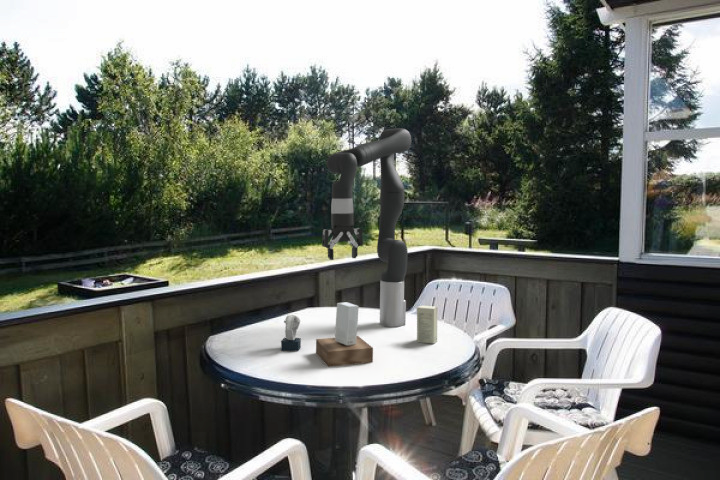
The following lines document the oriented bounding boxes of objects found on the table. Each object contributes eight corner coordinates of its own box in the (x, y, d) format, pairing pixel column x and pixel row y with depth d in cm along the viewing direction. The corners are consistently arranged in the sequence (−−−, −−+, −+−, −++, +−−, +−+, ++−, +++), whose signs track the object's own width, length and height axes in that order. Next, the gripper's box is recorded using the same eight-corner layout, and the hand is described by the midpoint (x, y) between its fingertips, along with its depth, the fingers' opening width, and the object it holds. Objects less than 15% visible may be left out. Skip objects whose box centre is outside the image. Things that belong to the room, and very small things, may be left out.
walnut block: (357, 350, 174) (357, 335, 174) (372, 364, 161) (373, 347, 161) (316, 354, 170) (316, 339, 169) (328, 368, 156) (328, 351, 156)
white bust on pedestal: (301, 345, 177) (301, 313, 176) (297, 352, 169) (297, 318, 168) (285, 345, 178) (285, 312, 177) (279, 352, 170) (279, 318, 169)
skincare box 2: (437, 341, 185) (438, 306, 184) (433, 344, 181) (434, 308, 180) (419, 338, 188) (420, 304, 187) (415, 341, 184) (416, 306, 183)
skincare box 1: (356, 344, 164) (360, 305, 163) (345, 346, 161) (349, 306, 160) (344, 339, 168) (348, 301, 167) (333, 340, 166) (336, 302, 165)
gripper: (356, 211, 189) (356, 256, 190) (318, 212, 183) (319, 258, 184) (365, 211, 182) (366, 258, 184) (327, 212, 176) (327, 261, 177)
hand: (342, 258), depth 184 cm, fingers open, 8 cm apart
